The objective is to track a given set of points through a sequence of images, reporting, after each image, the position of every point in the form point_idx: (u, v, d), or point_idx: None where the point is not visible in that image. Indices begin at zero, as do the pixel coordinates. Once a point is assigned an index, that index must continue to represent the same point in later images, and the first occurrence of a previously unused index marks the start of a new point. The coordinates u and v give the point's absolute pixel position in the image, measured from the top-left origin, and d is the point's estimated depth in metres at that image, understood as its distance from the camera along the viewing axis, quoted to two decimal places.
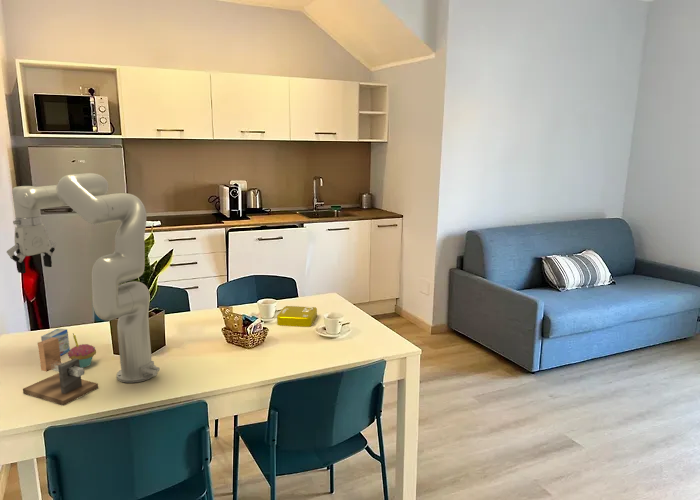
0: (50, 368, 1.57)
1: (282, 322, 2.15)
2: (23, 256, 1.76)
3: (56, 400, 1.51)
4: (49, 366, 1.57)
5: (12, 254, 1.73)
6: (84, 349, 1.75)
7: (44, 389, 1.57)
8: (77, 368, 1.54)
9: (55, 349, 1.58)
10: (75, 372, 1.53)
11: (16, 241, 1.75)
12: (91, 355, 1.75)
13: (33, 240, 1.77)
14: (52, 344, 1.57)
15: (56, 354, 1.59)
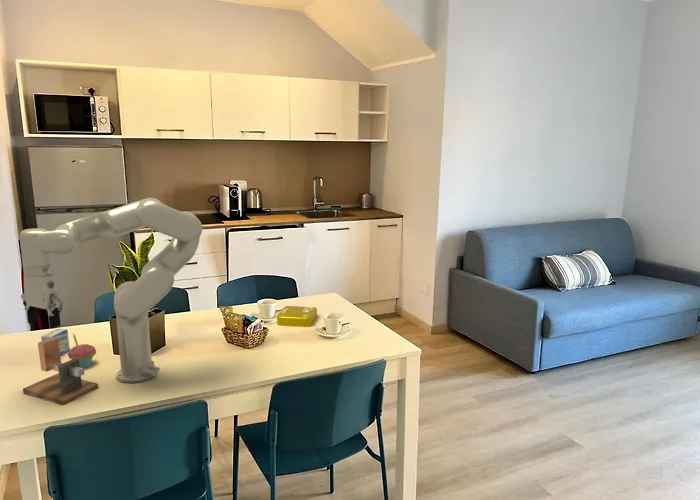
0: (50, 368, 1.57)
1: (282, 322, 2.15)
2: None
3: (56, 400, 1.51)
4: (49, 366, 1.57)
5: None
6: (84, 349, 1.75)
7: (44, 389, 1.57)
8: (77, 368, 1.54)
9: (55, 349, 1.58)
10: (75, 372, 1.53)
11: (50, 292, 1.51)
12: (91, 355, 1.75)
13: None
14: (52, 344, 1.57)
15: (56, 354, 1.59)
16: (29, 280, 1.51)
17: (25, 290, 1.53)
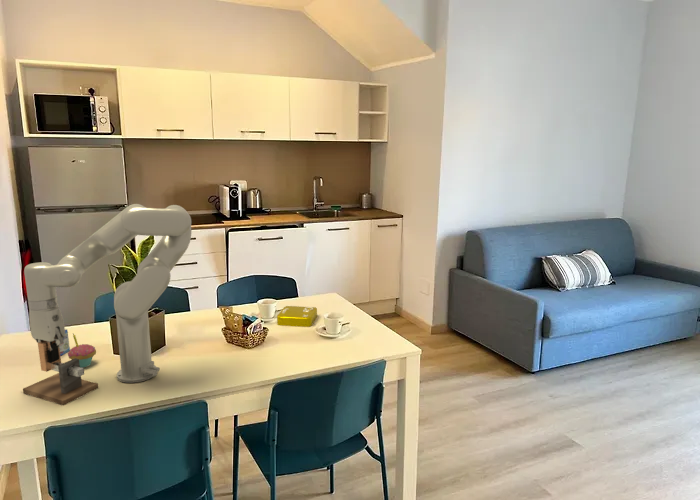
0: (50, 368, 1.57)
1: (282, 322, 2.15)
2: None
3: (56, 400, 1.51)
4: (49, 366, 1.57)
5: None
6: (84, 349, 1.75)
7: (44, 389, 1.57)
8: (77, 368, 1.54)
9: None
10: (75, 372, 1.53)
11: (55, 325, 1.54)
12: (91, 355, 1.75)
13: None
14: None
15: None
16: (34, 313, 1.53)
17: (30, 323, 1.55)
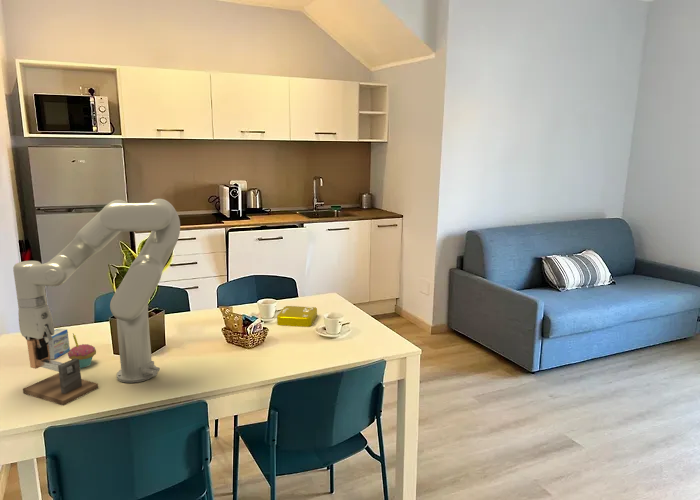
0: (39, 365, 1.59)
1: (282, 322, 2.15)
2: None
3: (56, 400, 1.51)
4: (38, 363, 1.59)
5: None
6: (84, 349, 1.75)
7: (44, 389, 1.57)
8: None
9: None
10: None
11: (44, 322, 1.56)
12: (91, 355, 1.75)
13: None
14: None
15: None
16: (23, 311, 1.55)
17: (20, 321, 1.57)
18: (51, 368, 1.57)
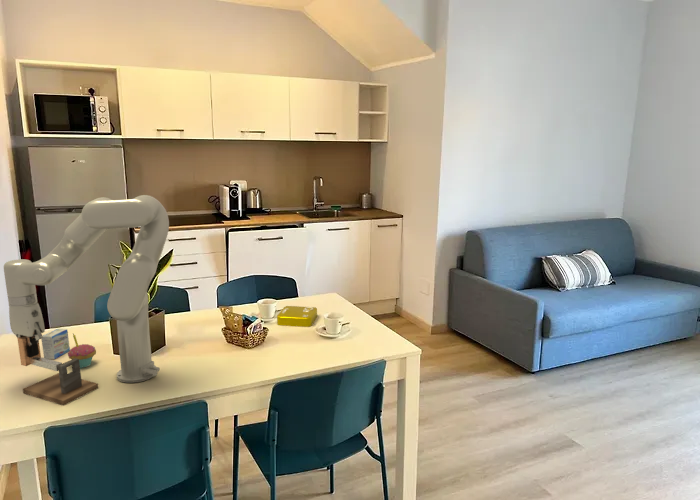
0: (30, 363, 1.61)
1: (282, 322, 2.15)
2: None
3: (56, 400, 1.51)
4: (29, 361, 1.61)
5: None
6: (84, 349, 1.75)
7: (44, 389, 1.57)
8: (56, 362, 1.58)
9: None
10: (53, 366, 1.57)
11: (34, 320, 1.57)
12: (91, 355, 1.75)
13: None
14: None
15: None
16: (14, 309, 1.57)
17: (10, 319, 1.59)
18: (41, 365, 1.59)
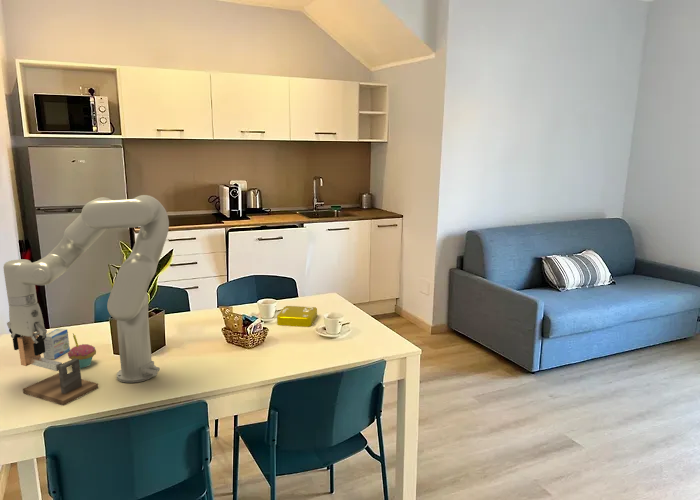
0: (30, 363, 1.61)
1: (282, 322, 2.15)
2: None
3: (56, 400, 1.51)
4: (29, 361, 1.61)
5: None
6: (84, 349, 1.75)
7: (44, 389, 1.57)
8: (55, 362, 1.58)
9: None
10: (53, 366, 1.57)
11: (34, 320, 1.57)
12: (91, 355, 1.75)
13: None
14: (31, 339, 1.61)
15: None
16: (14, 309, 1.57)
17: (10, 319, 1.59)
18: (41, 365, 1.59)
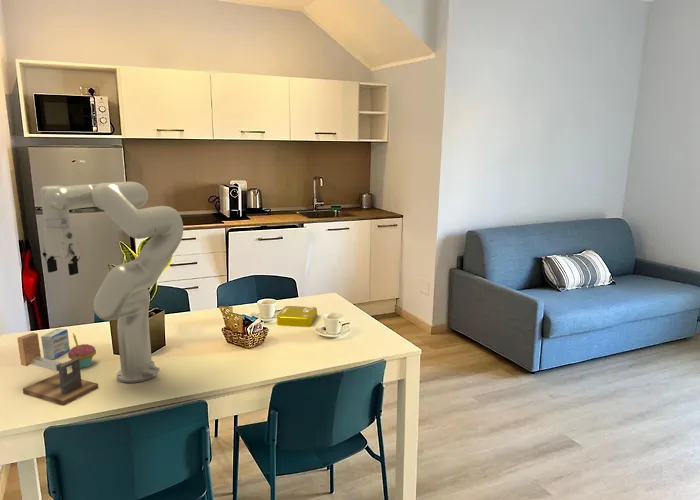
0: (30, 363, 1.61)
1: (282, 322, 2.15)
2: None
3: (56, 400, 1.51)
4: (29, 361, 1.61)
5: None
6: (84, 349, 1.75)
7: (44, 389, 1.57)
8: (55, 362, 1.58)
9: (35, 344, 1.62)
10: (53, 366, 1.57)
11: (69, 242, 1.69)
12: (91, 355, 1.75)
13: None
14: (31, 339, 1.61)
15: (36, 349, 1.63)
16: (49, 231, 1.69)
17: (45, 241, 1.71)
18: (41, 365, 1.59)
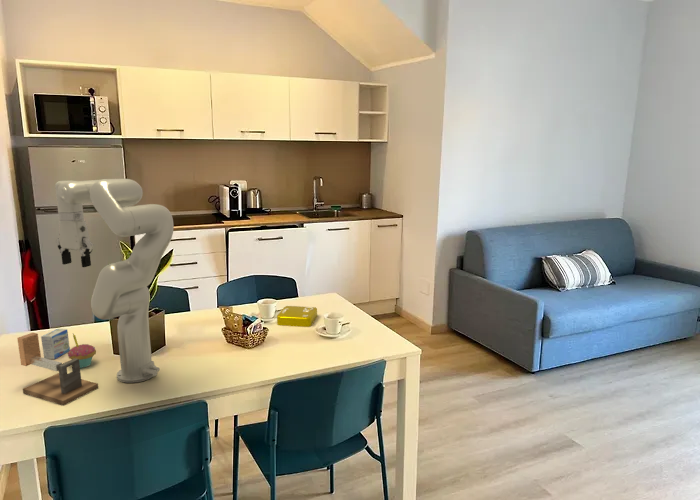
0: (30, 363, 1.61)
1: (282, 322, 2.15)
2: None
3: (56, 400, 1.51)
4: (29, 361, 1.61)
5: None
6: (84, 349, 1.75)
7: (44, 389, 1.57)
8: (55, 362, 1.58)
9: (35, 344, 1.62)
10: (53, 366, 1.57)
11: (82, 235, 1.75)
12: (91, 355, 1.75)
13: None
14: (31, 339, 1.61)
15: (36, 349, 1.63)
16: (64, 224, 1.75)
17: (60, 234, 1.77)
18: (41, 365, 1.59)
